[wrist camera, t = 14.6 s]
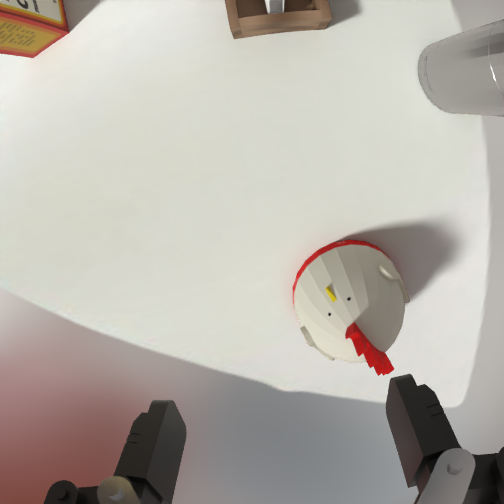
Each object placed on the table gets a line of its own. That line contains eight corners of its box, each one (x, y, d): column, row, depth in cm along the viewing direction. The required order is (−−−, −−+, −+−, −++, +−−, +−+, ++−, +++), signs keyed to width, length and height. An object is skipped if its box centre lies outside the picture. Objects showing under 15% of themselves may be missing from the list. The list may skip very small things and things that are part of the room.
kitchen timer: (355, 216, 37) (402, 272, 23) (413, 288, 40) (463, 358, 26) (269, 290, 41) (270, 373, 27) (336, 349, 44) (356, 431, 30)
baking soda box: (69, 32, 29) (-15, 8, 14) (33, 58, 30) (-53, 49, 15) (59, -17, 25) (-14, -49, 11) (25, 9, 26) (-52, -10, 12)
